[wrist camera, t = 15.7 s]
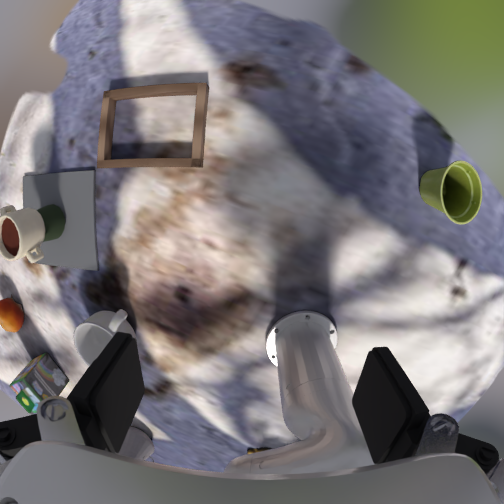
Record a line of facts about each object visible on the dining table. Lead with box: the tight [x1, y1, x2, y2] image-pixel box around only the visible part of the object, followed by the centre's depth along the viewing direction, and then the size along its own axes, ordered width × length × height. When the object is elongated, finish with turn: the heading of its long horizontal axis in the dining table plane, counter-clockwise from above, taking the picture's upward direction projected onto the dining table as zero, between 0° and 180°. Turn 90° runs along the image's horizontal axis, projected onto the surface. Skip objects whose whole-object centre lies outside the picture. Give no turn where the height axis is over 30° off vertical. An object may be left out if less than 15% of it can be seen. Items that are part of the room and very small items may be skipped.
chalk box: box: [10, 353, 69, 413], centre depth 45 cm, size 9×9×15 cm
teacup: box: [74, 309, 137, 366], centre depth 44 cm, size 14×11×8 cm
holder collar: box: [97, 83, 209, 168], centre depth 37 cm, size 12×16×2 cm
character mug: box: [0, 204, 65, 263], centre depth 35 cm, size 11×7×13 cm, turn 38°
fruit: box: [0, 295, 24, 332], centre depth 45 cm, size 8×8×8 cm
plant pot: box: [419, 161, 482, 224], centre depth 36 cm, size 9×9×9 cm
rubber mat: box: [23, 170, 99, 271], centre depth 42 cm, size 17×18×1 cm
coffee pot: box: [115, 426, 154, 463], centre depth 49 cm, size 21×12×15 cm, turn 139°
